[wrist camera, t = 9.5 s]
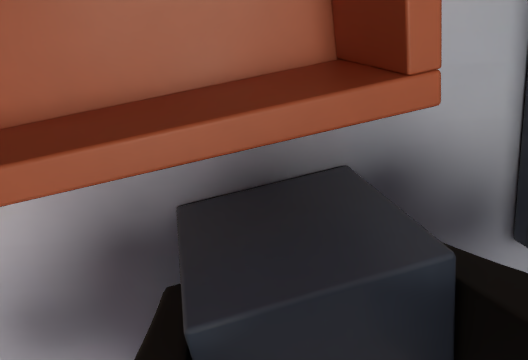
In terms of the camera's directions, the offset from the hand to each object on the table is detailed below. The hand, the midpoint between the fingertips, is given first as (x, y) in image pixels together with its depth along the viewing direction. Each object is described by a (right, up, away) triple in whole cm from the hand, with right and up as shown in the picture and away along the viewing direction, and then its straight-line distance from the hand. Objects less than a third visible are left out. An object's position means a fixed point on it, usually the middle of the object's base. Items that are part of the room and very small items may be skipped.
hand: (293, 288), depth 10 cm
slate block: (0, +1, +1) cm, 1 cm away
